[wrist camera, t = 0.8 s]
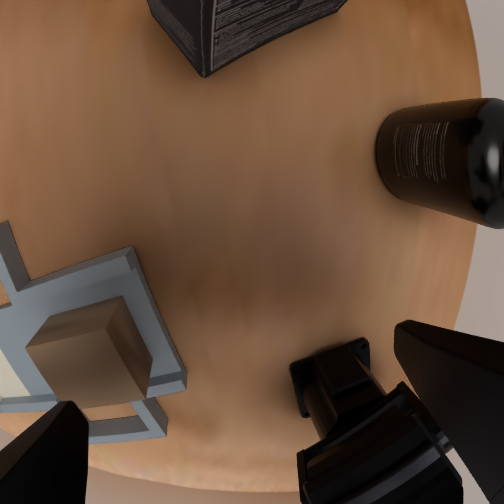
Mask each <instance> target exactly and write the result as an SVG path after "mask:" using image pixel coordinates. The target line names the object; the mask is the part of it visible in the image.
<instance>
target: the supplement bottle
mask: <svg viewBox="0 0 504 504" xmlns="http://www.w3.org/2000/svg"><path fill="white" fill-rule="evenodd" d="M377 159H378V165H379V169H380V172H381V175H382V177H383V179H384V181H385V183H386V185H387V186H388V187H389V189H390V190H391V191H392V192H393V193H394V194H395V195H396V196H397V197H399V198H400V199H402V200H404V201H406V202H409V203H412V204H415V205H418V206H422V207H426V208H429V209H432V210H436V211H439V212H443V213H446V214H449V215H452V216H456V217H459V218H462V219H465V220H468V221H471V222H474V223H477V224H480V225H484V226H486V227H490V228H494V229H504V101H503V100H501V99H497V98H478V99H467V100H458V101H449V102H441V103H433V104H426V105H419V106H413V107H408V108H404V109H401V110H398V111H396V112H395V113H393V114H392V115H391V116H390V117H389V118H388V119H387V120H386V122H385V123H384V125H383V127H382V129H381V131H380V134H379V138H378V144H377Z"/></svg>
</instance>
